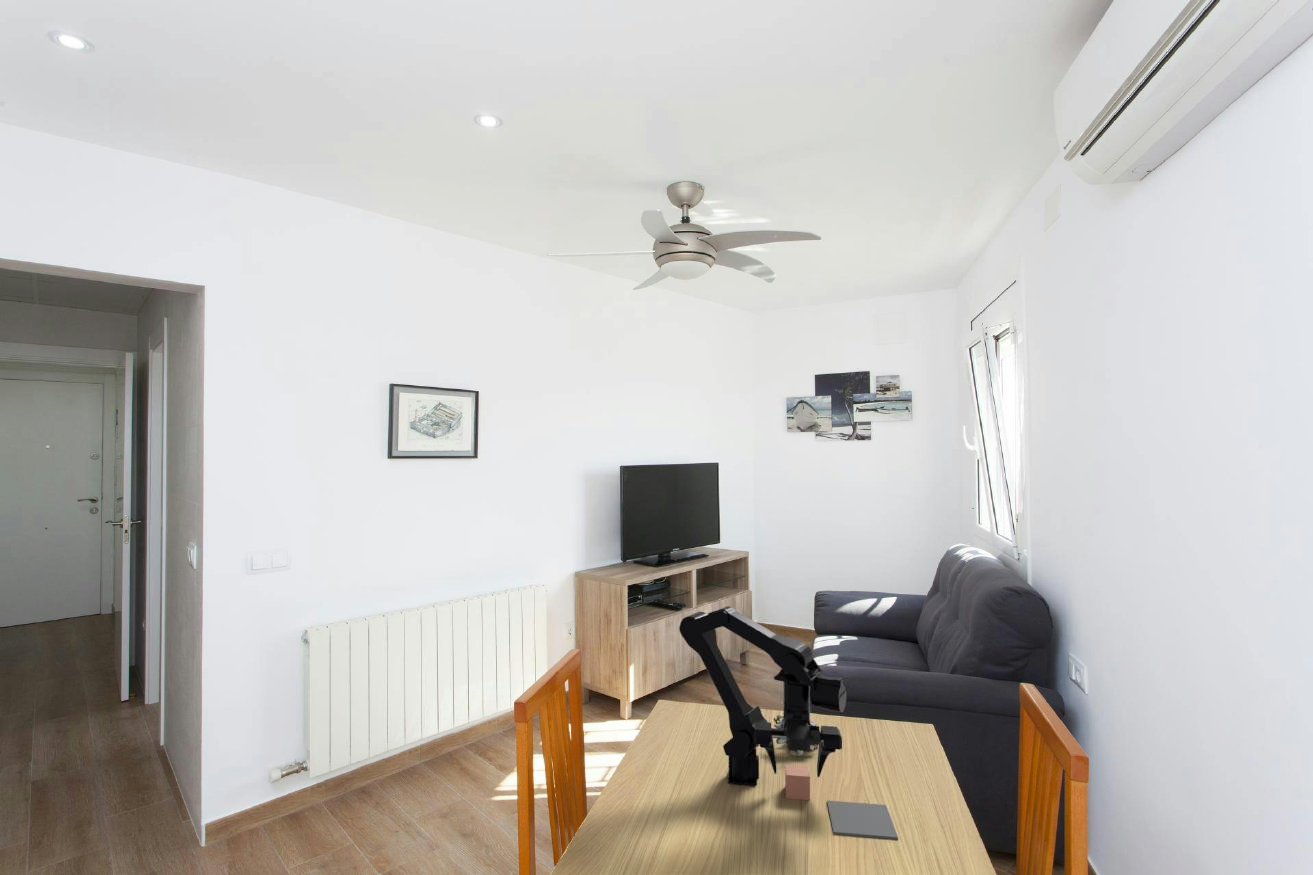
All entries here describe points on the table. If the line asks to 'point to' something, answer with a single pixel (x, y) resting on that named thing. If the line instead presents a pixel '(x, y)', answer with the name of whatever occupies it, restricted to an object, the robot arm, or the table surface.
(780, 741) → the passion flower
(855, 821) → the mat
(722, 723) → the table surface
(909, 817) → the table surface
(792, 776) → the cube
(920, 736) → the table surface
